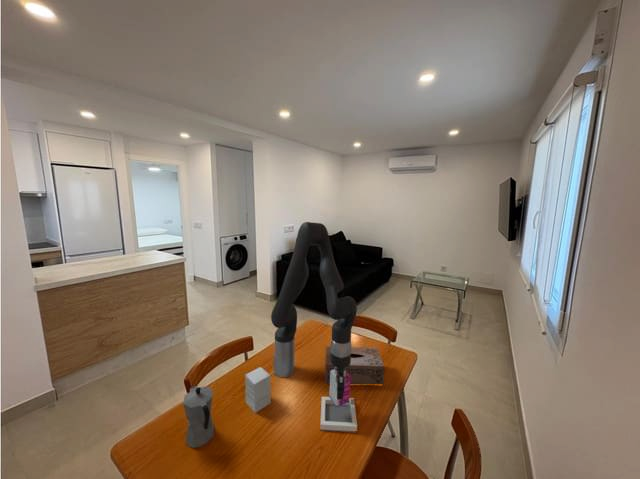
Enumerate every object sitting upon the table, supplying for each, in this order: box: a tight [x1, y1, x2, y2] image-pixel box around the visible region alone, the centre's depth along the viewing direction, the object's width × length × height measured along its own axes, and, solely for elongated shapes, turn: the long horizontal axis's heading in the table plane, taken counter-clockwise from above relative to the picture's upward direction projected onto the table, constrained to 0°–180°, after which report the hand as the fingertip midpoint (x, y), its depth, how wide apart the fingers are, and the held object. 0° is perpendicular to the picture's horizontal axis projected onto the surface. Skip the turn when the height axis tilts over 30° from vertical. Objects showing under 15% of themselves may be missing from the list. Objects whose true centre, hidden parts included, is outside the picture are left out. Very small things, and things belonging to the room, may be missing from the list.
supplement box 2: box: [328, 369, 351, 407], centre depth 94 cm, size 6×6×12 cm
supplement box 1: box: [244, 366, 272, 414], centre depth 100 cm, size 7×7×13 cm
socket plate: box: [319, 396, 358, 433], centre depth 95 cm, size 13×13×3 cm
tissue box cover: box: [324, 345, 385, 386], centre depth 119 cm, size 26×14×10 cm, turn 89°
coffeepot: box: [182, 385, 215, 449], centre depth 84 cm, size 15×9×18 cm, turn 43°
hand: (339, 390), depth 94 cm, fingers closed on supplement box 2, 7 cm apart
